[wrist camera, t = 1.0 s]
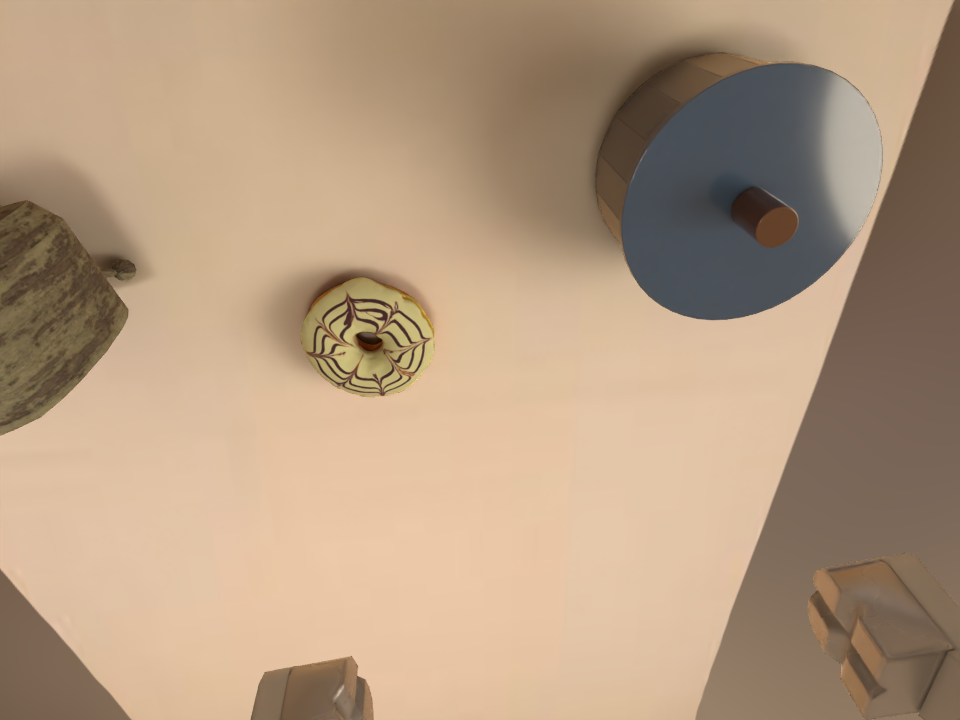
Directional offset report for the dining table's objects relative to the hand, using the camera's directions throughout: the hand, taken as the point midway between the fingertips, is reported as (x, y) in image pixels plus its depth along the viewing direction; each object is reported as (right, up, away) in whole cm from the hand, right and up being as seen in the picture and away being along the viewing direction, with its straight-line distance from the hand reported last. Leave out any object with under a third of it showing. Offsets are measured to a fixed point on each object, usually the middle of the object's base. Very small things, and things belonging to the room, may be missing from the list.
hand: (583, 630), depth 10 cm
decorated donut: (-11, +8, +41) cm, 43 cm away
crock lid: (+15, +15, +28) cm, 36 cm away
